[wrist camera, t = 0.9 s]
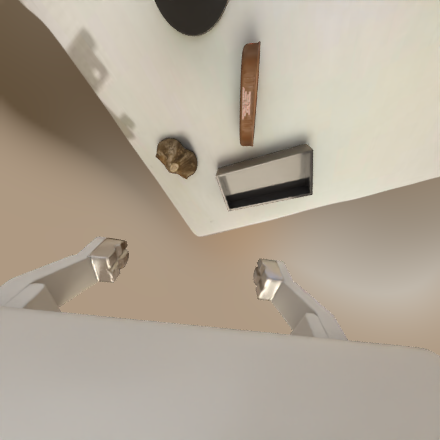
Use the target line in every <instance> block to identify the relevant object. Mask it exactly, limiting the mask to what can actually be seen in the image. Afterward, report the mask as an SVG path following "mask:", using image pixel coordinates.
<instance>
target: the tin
mask: <svg viewBox="0 0 440 440" xmlns="http://www.w3.org/2000/svg"><path fill="white" fill-rule="evenodd" d="M259 61H260V41H259V42H258V43H249V44H246V45H245V46H244V48H243V52H242V64H241V89H240V144H241V145H242V146H253V139H254V129H255V116H256V103H257V90H258V76H259Z"/></svg>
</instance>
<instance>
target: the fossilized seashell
mask: <svg viewBox="0 0 440 440" xmlns="http://www.w3.org/2000/svg"><path fill="white" fill-rule="evenodd" d="M156 157H157V158H158V159H159V160H160V161H161V162H162V163H163V164H164V165H165V167H166V169H167V170H168V171H169V172H170V173H175V174H179V175H180V176H182V177H183V178H185V179H187V178H188V177H189V176H191V175H193V174H194V173H195V172H196V169H197V159H196V156H195V154H194V153H193V152H191V151H190V150H187V149H185V148H184V147H183V146H182V144H181V143H180V142H179V141H177V140H176V139H174V138H173V139H172V138H171V139H170V138H167V139H165V140H162V141H161V142H159V144H158V146H157V154H156Z"/></svg>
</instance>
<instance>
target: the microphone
mask: <svg viewBox="0 0 440 440" xmlns="http://www.w3.org/2000/svg"><path fill="white" fill-rule="evenodd" d="M155 2H156V4H157V6H158V8H159V10H160V12H161V14H162V15H163V17H164V18H165V19H166V21H167V22H168V23H169V24H170V25H171V26H172V27H173V28H175V29H176V30H177V31H179V32H180V33H182V34H185V35H188V36H199V35H202V34H204V33H206V32H208V31H209V30H211V29H212V28H213V27H214V26H215V25H216V23H217V22H218V21H219V19H220V18H221V16H222V14H223V12H224V10H225V8H226V6H227V3H228V0H155Z"/></svg>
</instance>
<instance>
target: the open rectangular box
mask: <svg viewBox="0 0 440 440" xmlns="http://www.w3.org/2000/svg"><path fill="white" fill-rule="evenodd" d="M216 178H217V181H218V184H219V187H220V190H221V192H222V195H223V198H224V201H225V204H226V206H227V209H228V211H232V210H237V209H242V208H247V207H252V206H257V205H263V204H268V203H273V202H278V201H283V200H288V199H293V198H298V197H303V196H308V195H312V189H313V149H312V148H311V147H309V146H308V145H307V144H303V145H299V146H296V147H292V148H288V149H285V150H281V151H278V152H274V153H271V154H267V155H263V156H260V157H256V158H253V159H249V160H246V161H242V162H238V163H235V164H231V165H228V166H224V167H221V168H218V170H217V173H216Z"/></svg>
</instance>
